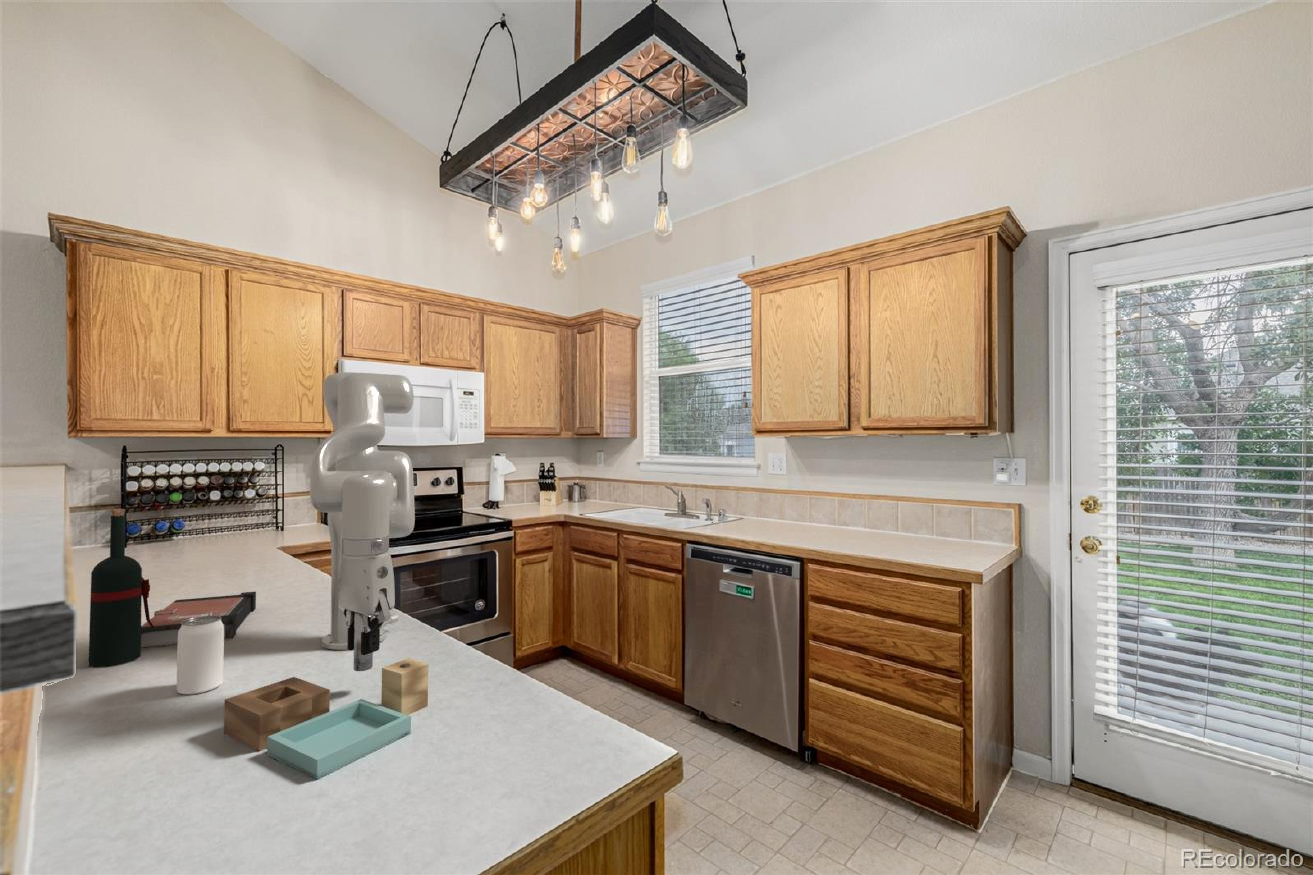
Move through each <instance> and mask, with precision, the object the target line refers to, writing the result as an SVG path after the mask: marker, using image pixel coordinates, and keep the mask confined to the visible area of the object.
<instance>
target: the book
mask: <svg viewBox="0 0 1313 875" xmlns="http://www.w3.org/2000/svg"><path fill="white" fill-rule="evenodd" d="M256 606H257V591H247V592H245V591H244V592H241V593H240V594H231V595H221V596H218V595H217V596H207V597H198V598H197V597H196V598H194V597H193V598H185V599H175V600H174V601H172V602H171V603H170V604H169V605H167V606H166V607H165V608H164V609H160V610H156V611H154V613H153V616H152V617H150V622H151V623H152V625H153V626H154V628H155V629H156V630H155V629H154V628H152V627H151V626H150V624H149V623H148V622H147V621H146V622H144V623H143V624H141V650H144V649H152V648H161V647H170V646H178V631H179V629H180V628H181V626H182V624H181V623H182V622H183V621H185V620H187V619H191V618H195V617H201V616H220V617H221V621H222V623H223V625H224V641H225V640H232V639H234V638H235V636H236V634H237V630H238V629H239V628H240V626H241V625H242V624H243V622H244V621H245V620H246V619H247V617H248V616H249V615H250V614H251V613H253V612H255V610H256V609H257V608H256Z"/></svg>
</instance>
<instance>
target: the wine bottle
mask: <svg viewBox="0 0 1313 875" xmlns="http://www.w3.org/2000/svg"><path fill="white" fill-rule="evenodd" d="M125 512H126V509H125V508H118V509H111V514H112V515H110V535H109V536H110V538H109V539H110V540H109V557H107V558H104V559H103V560H101V561H100V562H98V563H97V564H96V565H95V566H94V567H93V568H92V571H91V573H90V600H89V601H90V607H89V608H90V609H89V634H88V637H89V638H88V663H87V664H88V665H87V666H88V667H90V668H95V669H96V668H98V669H99V668H108V667H115V666H119V665H124V664H127V663H130V662H134V661H136V660H138V659H140V658H141V657H142V649H141V626H142V601H143V608H144V615H145V621H146V622H148V623H149V624H150V626H151V627H152V628H154V626H153V625H152V623H151V622H150V619H151V617H150V609H149V603H148V602H149V601H148V599H149V597H150V591H151V584H150V579H149V578H147V579H145V578H144V577H143V568H142V566H141V564H140V562H139V561H137V560H136V559H135V558H132V557H131V556H127V555H126V554H125V551H126V550H125V549H126V543H125V542H126V514H125ZM154 629H155V628H154ZM155 630H156V629H155Z"/></svg>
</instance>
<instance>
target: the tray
mask: <svg viewBox="0 0 1313 875" xmlns="http://www.w3.org/2000/svg"><path fill="white" fill-rule="evenodd" d="M411 728H412V716H410V715H405V714H402V713H400V712H397V711H394V710H391V709H388V708H385V707H383V706H381V705H379V704H376V703H374V702H371V701H368V700H365V699H363V698H360V699H357V700H355V701H353V702H350V703H348V704H345V705H343V706H340V707H338V708H335V709H333V710H329V712H328V713H325V714H323V715H320V716H318V717H315V718H313V719H310V720H308V721H305V722H303V723H300V724H298V725H295V726H293V727H290V728H288V729H285V730H283V731H280V732H278V733H275V734H273V735H270V736H268V737H267V748H266V755H267V756H268V757H271V758H273V759H275V760H276V761H278V762H280V763H282V764H285V765H286V766H289V767H291V768H293V769H295V770H297V771H299V772H301V773H303V774H305V775H306V776H309V777H311V778H313V779H315V780H320V779H321V778H324V777H325V776H327V775H330V774H332V773H333V772H336V771H338V770H340V769H342V768H344V767H345V766H347V765H350V764H352V763H353V762H356V761H358V760H359V759H361V758H364V757H366V756H368V755H370V754H372V753H374V752H376V751H378V750H380V749H381V748H384V747H386V746H388V745H390V744H392V743H394V742H396V741H398V740H400V739H402V738H405V737H406V736H408V735H410V734H411V733H412V729H411Z"/></svg>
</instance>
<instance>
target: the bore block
mask: <svg viewBox="0 0 1313 875" xmlns="http://www.w3.org/2000/svg"><path fill="white" fill-rule="evenodd" d="M330 693H331V689H329V688H326V687H323V686H321V685H317V684H315V683H312V682H309V681H307V680H304V679H301V678H298V677H296V676H292V677H289V678H286V679H283V680H279V681H277V682H274V683H271V684H267V685H264V686H261V687H259V688H255V689H253V690H250V691H246V692H243V693H239V694H237V695H235V696H231V697H228V698H225V699H224V703H223V704H224V709H223V710H224V712H223V714H224V715H223V734H224V735H226V736H229V737H230V738H233V739H234V740H236V741H238V742H241V743H243V744H244V745H246V746H249V747H250V748H253V749H255V750H256V751H259V752H261V751H264V750H265V749H267V737H268V736H270V735H273V734H275V733H278V732H280V731H283V730H285V729H288V728H290V727H293V726H295V725H298V724H300V723H303V722H305V721H308V720H310V719H313V718H315V717H318V716H320V715H323V714H325V713H328V712H330V705H331V704H330V699H331V698H330V697H331V696H330V695H331V694H330Z"/></svg>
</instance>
